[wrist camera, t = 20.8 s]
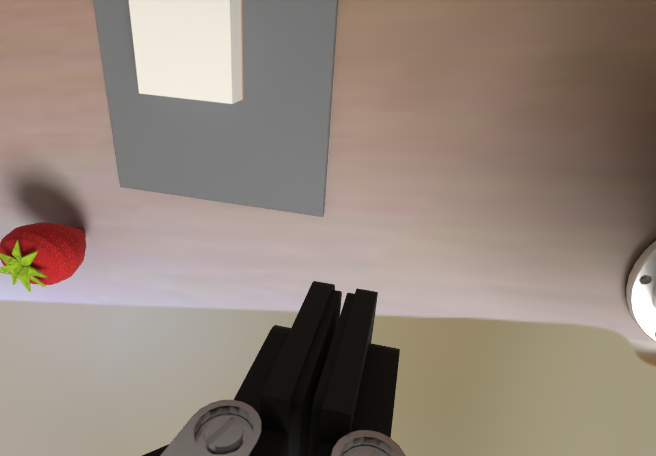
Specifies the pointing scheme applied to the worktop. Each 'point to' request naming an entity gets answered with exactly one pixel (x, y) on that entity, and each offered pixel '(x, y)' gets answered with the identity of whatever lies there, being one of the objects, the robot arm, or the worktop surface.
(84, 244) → the strawberry
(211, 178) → the mat
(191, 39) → the tile
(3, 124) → the worktop surface
